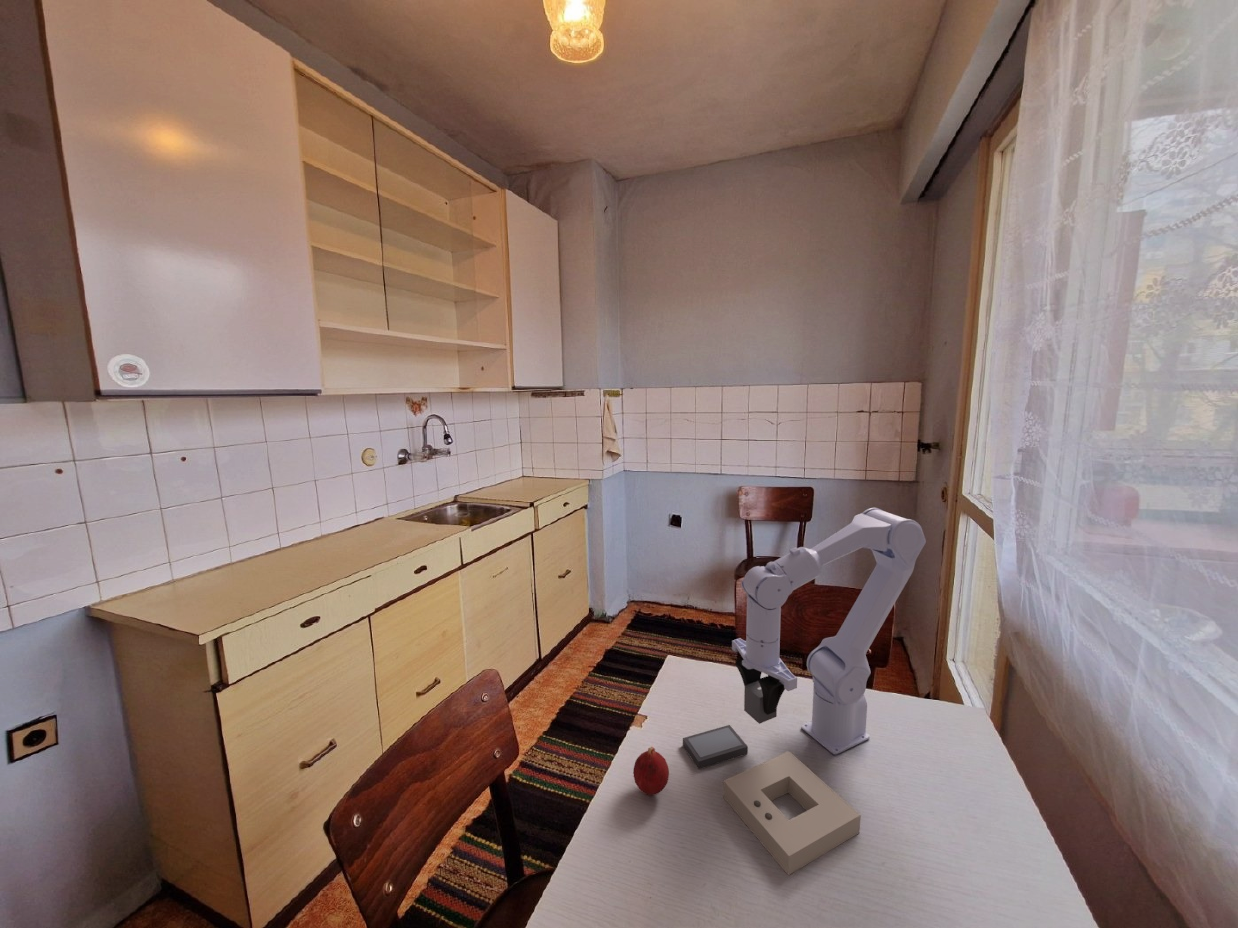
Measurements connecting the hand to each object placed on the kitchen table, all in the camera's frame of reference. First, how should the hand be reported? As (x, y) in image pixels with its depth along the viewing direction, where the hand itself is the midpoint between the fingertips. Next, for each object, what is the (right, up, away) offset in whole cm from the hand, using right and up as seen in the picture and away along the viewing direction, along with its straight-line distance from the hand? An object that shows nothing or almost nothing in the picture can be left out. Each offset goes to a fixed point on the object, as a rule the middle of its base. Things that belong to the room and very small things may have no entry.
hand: (761, 704), depth 86 cm
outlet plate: (0, -10, -13) cm, 17 cm away
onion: (-21, -10, -8) cm, 25 cm away
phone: (-8, -9, +1) cm, 12 cm away
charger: (0, -2, 0) cm, 2 cm away
